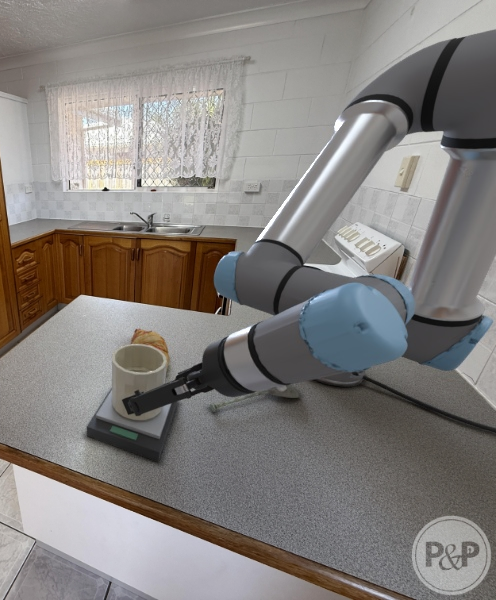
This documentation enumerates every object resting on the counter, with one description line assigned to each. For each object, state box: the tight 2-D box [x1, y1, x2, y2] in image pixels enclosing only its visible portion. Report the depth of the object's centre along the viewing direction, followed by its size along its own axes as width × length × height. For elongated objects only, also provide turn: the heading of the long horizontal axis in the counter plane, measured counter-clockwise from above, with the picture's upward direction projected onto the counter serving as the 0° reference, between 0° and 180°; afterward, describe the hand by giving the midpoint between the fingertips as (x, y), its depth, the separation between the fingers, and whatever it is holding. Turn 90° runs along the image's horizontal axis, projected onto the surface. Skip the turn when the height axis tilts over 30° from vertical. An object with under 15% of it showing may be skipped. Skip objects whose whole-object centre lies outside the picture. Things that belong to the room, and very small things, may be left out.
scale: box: [86, 387, 179, 463], centre depth 63 cm, size 14×16×3 cm
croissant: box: [130, 328, 171, 373], centre depth 83 cm, size 21×10×8 cm, turn 11°
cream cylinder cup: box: [111, 343, 167, 420], centre depth 61 cm, size 10×10×11 cm
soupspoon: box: [209, 384, 300, 413], centre depth 68 cm, size 22×3×7 cm
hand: (155, 392), depth 57 cm, fingers open, 13 cm apart
